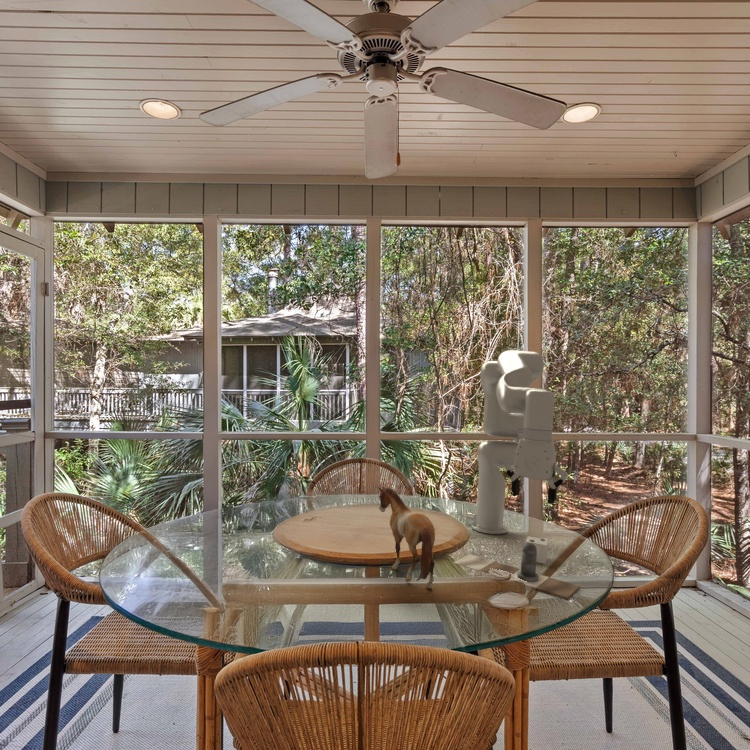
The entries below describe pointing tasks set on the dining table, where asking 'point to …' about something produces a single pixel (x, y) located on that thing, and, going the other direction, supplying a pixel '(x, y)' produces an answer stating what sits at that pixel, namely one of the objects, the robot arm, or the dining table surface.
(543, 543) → the die
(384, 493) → the horse figurine
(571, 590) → the game board
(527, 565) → the pawn
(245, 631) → the dining table surface
